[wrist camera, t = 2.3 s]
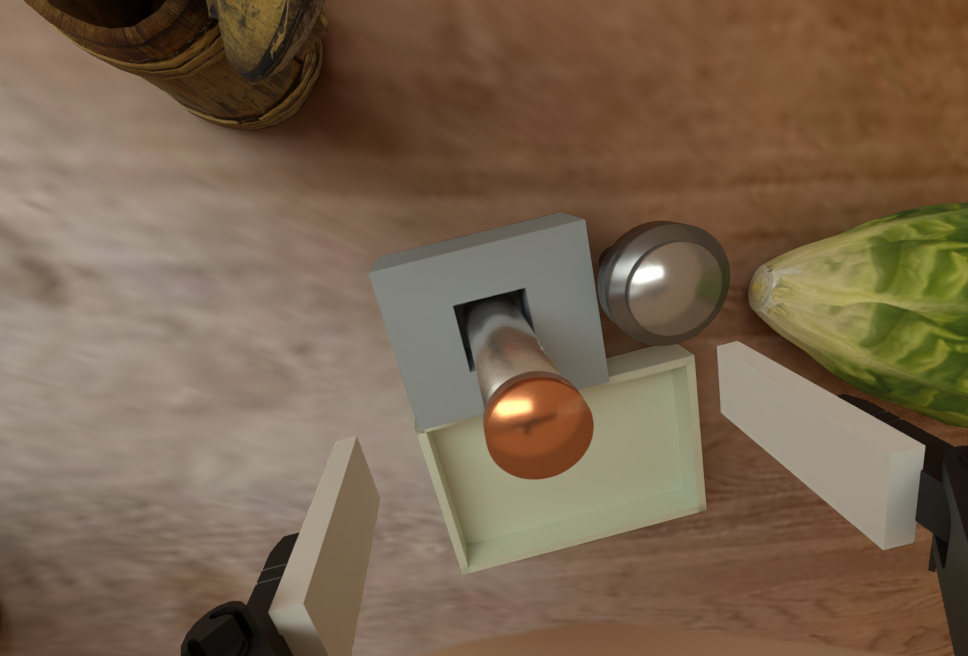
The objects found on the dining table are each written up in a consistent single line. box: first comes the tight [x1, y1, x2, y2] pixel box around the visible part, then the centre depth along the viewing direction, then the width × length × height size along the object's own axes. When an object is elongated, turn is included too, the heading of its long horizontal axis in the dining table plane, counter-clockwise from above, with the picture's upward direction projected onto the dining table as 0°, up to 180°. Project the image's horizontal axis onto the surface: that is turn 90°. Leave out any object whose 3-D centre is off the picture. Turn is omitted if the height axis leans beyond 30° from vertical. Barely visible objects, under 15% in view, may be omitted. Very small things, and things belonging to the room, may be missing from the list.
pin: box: [463, 292, 594, 480], centre depth 23 cm, size 4×4×15 cm
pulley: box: [598, 221, 730, 346], centre depth 27 cm, size 6×6×8 cm
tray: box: [415, 344, 706, 575], centre depth 34 cm, size 19×13×3 cm
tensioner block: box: [369, 212, 609, 431], centre depth 28 cm, size 12×10×5 cm
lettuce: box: [748, 203, 968, 428], centre depth 28 cm, size 14×23×13 cm, turn 82°
